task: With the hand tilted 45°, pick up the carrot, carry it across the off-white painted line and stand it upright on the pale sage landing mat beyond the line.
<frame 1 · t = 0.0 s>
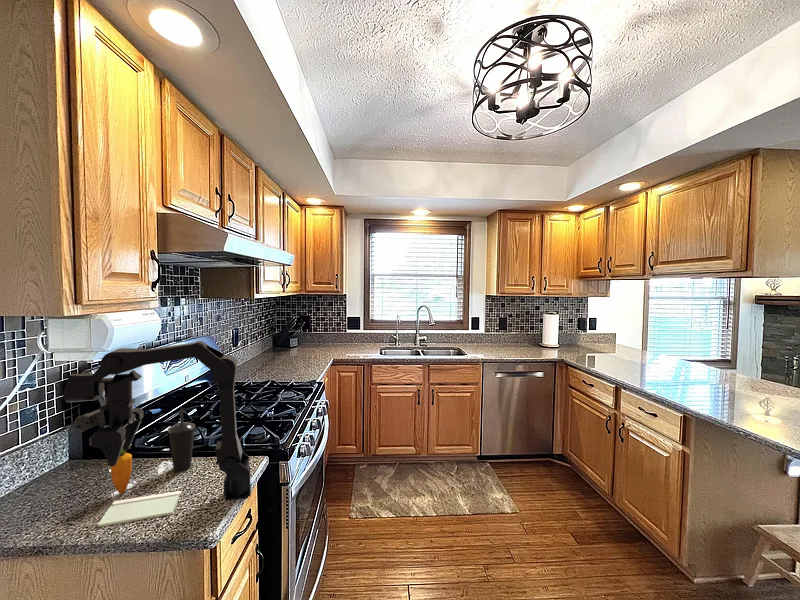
hand: (119, 457, 96), 15 cm above the worktop, tool pointing down, fingers open, 9 cm apart
drinking cup: (182, 469, 120), on the worktop
carrot: (122, 494, 105), on the worktop
landing mat: (141, 511, 97), on the worktop
throw line: (147, 498, 103), on the worktop
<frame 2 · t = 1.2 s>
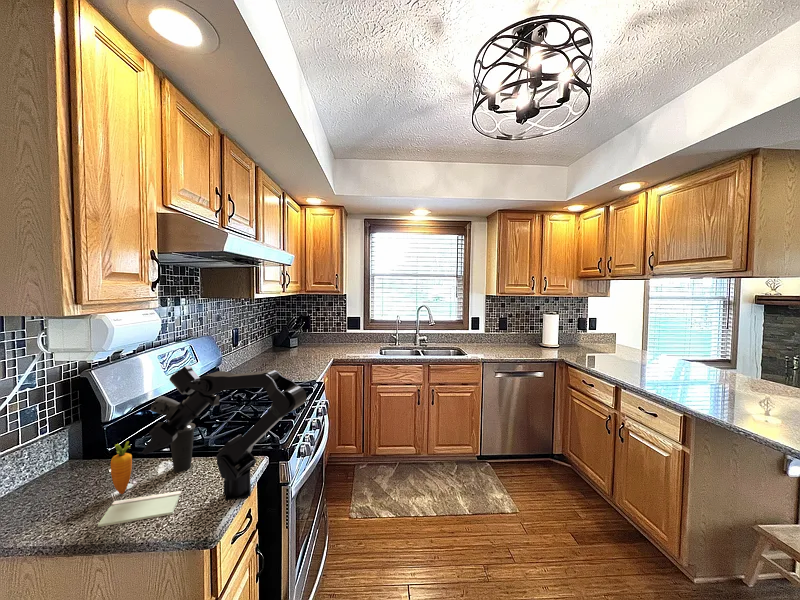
hand: (151, 446, 106), 13 cm above the worktop, tool tilted 45°, fingers open, 9 cm apart
nothing on the worktop moved.
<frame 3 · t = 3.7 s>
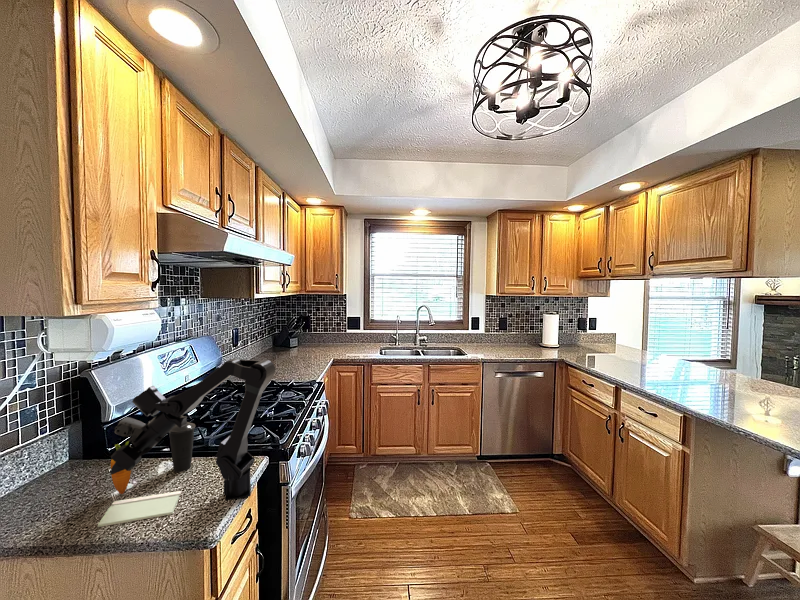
hand: (115, 468, 104), 8 cm above the worktop, tool tilted 45°, fingers closed on carrot, 5 cm apart
carrot: (122, 494, 105), on the worktop, touching gripper
everything else where it was.
when the fingers open (9 cm above the worktop, at t = 7.6 s): carrot drops 1 cm, resting on landing mat.
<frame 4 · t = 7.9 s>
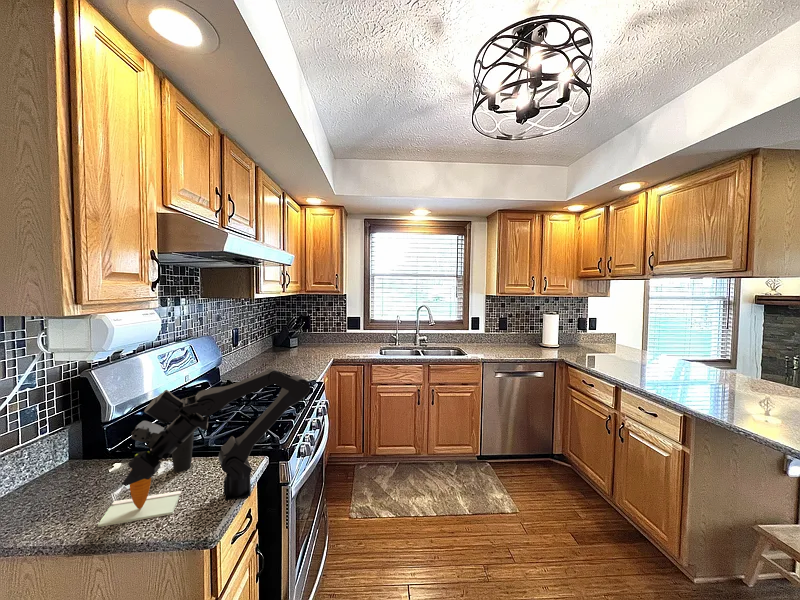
hand: (132, 476, 96), 10 cm above the worktop, tool tilted 45°, fingers open, 8 cm apart
carrot: (139, 509, 97), resting on landing mat
everything else where it was.
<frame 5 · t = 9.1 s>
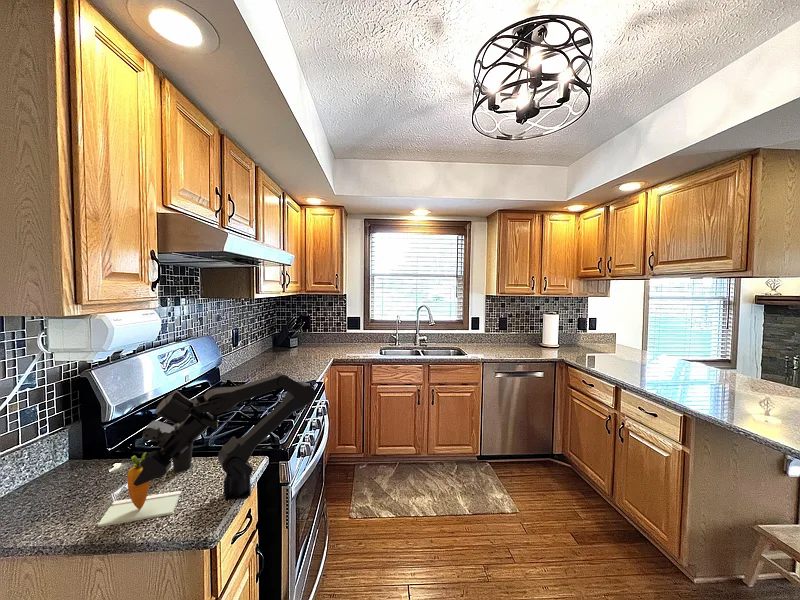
hand: (143, 475, 97), 10 cm above the worktop, tool tilted 45°, fingers open, 9 cm apart
nothing on the worktop moved.
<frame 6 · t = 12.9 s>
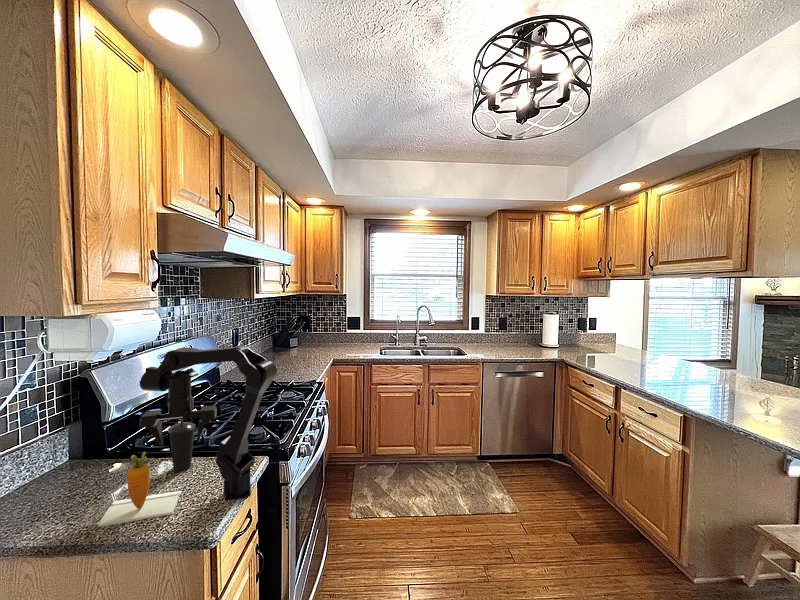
hand: (180, 444, 108), 13 cm above the worktop, tool pointing down, fingers open, 9 cm apart
nothing on the worktop moved.
at the end: carrot inside the target area (0.5 cm from its centre), resting on landing mat; carrot touching landing mat; carrot tilted 2° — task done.
